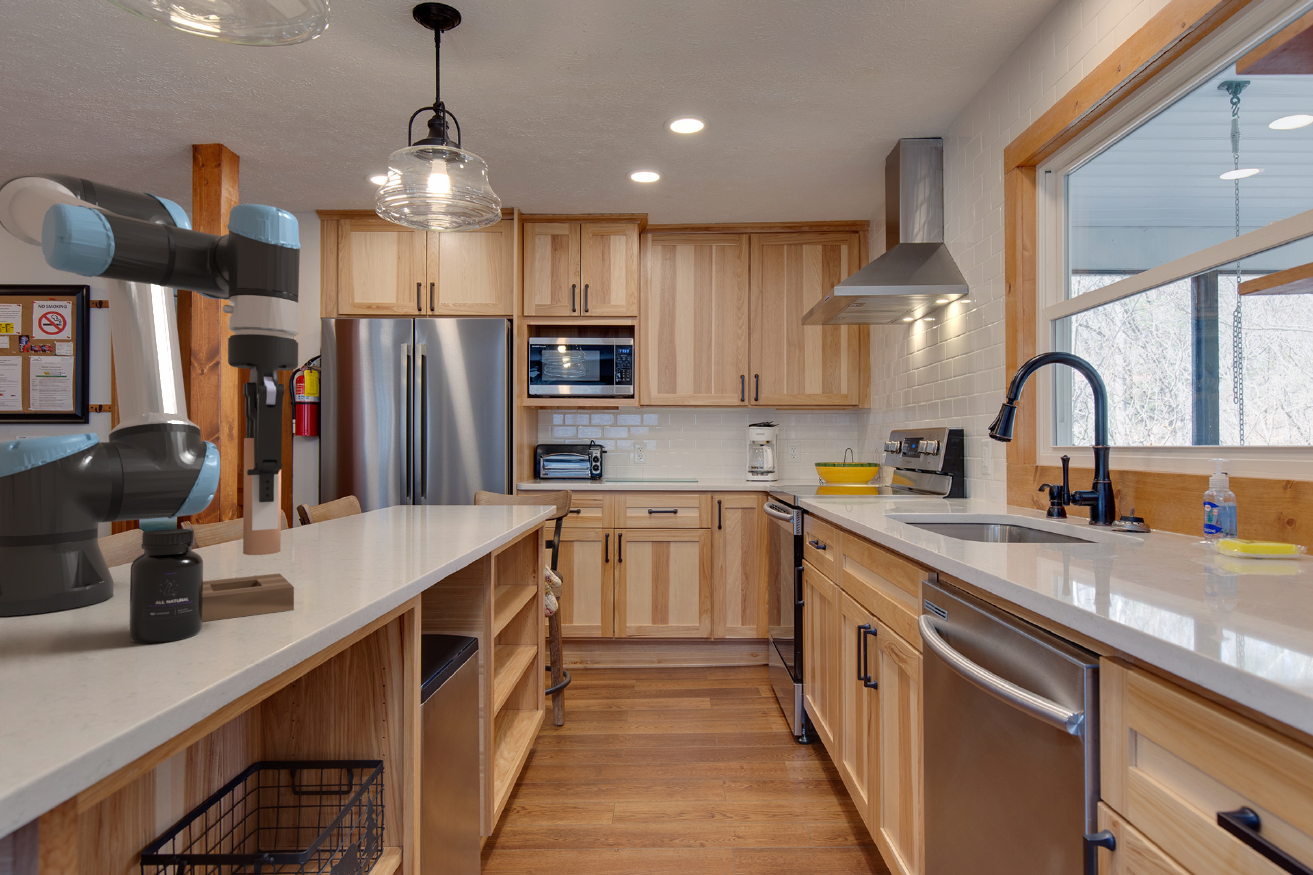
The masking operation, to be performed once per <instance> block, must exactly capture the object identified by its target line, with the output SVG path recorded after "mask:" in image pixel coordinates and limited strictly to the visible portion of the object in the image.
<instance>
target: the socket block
mask: <svg viewBox="0 0 1313 875" xmlns="http://www.w3.org/2000/svg"><path fill="white" fill-rule="evenodd" d="M294 594H295V587H294V586H293V584H292V583H290V582H289V581H288V580H287V579H286V578H285V577H284V576H283V575H282V574H281V573H272V574H271V573H269V574H262V575H261V574H260V575H259V574H258V575H251V576H242V577H241V576H240V577H232V578H231V577H230V578H223V579H222V578H220V579H214V580H213V579H211V580H203V604H202V623H205V622H211V621H212V622H213V621H219V620H226V619H227V620H228V619H234V618H241V617H242V618H243V617H249V616H256V615H257V616H258V615H264V614H273V613H278V612H287V611H294V610H295V596H294Z"/></svg>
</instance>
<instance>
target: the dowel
mask: <svg viewBox="0 0 1313 875" xmlns="http://www.w3.org/2000/svg"><path fill="white" fill-rule="evenodd" d="M243 445H244V446H243V517H242V519H243V520H242V521H243V525H242V526H243V528H242V529H243V530H242V532H243V533H242V534H243V535H242V536H243V539H242V540H243V541H242V553H243V555H247V556H263V555H264V556H265V555H273V554H278V553H281V546H282V545H281V542H282V541H281V537H282V533H281V532H282V528H281V527H282V522H281V521H282V469H281V470H280V471H279V473H278V475H279V477H278V529H265V530H252V475H247V470H248V469H253V468H254V438H246V437H245V438H243Z"/></svg>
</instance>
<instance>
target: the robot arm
mask: <svg viewBox="0 0 1313 875" xmlns="http://www.w3.org/2000/svg"><path fill="white" fill-rule="evenodd" d="M0 226H1V227H2V228H3V229H4V230H5V231H7V232H8V233H9V234H10V235H12V236H13V237H15V238H16V239H18V240H20V241H22V242H24V243H26V244H28V245H31V246H35V247H41V250H42V253H43V255H44V260H45V263H46V264H48V266H50V267H51V268H52V269H54V270H57V271H61V272H67V273H71V274H75V275H78V276H82V277H89V278H92V277H95V278H101V279H103V280H104V281H106V289H107V297H108V298H107V300H108V309H109V310H108V311H109V318H110V321H109V322H110V331H111V340H112V349H113V350H112V351H113V352H112V354H113V363H114V373H115V382H116V393H117V404H118V412H119V424H117V425H116V426H115V427H114V428H113V429H112V430H110V432H109V433H108V442H103V441H102V442H100V438H99V436H98V434H97V433H96V432H81V433H71V434H59V435H49V436H48V435H47V436H37V437H29V438H27V437H26V438H18V439H9V440H3V441H0V617H1V616H2V617H5V616H21V615H31V614H32V615H33V614H40V613H41V614H42V613H50V612H56V611H63V610H69V609H75V608H80V607H86V606H89V605H93V604H94V605H95V604H97V603H100V602H103V601H106V600H109V599H111V598H112V597H114V578H113V577H112V574H111V572H110V570H109V569H110V568H109V567H108V565H107V562H106V559H105V558H104V555H103V552H102V550H101V548H100V545H99V539H98V538H99V535H98V534H99V523H109V522H111V523H112V522H125V521H135V520H136V521H137V520H139V521H140V520H148V519H149V520H150V519H163V518H168V519H174V518H177V517H185V516H192V515H197V514H200V513H202V512H203V511H205V510H206V509H207V508H208V507H209V506H210V504H211V503H212V501H213V499H214V498H215V497H214V496H215V494H216V491H217V489H218V485H219V480H220V475H221V474H220V473H221V458H220V452H219V450H218V449H217V448H218V446H216V444H215V443H213V442H212V441H208V440H202V434H201V427H200V426H199V425H197V424H195V423H194V422H193V421H191V420H190V419H189V418H188V412H187V410H188V409H187V401H186V394H185V386H184V377H183V367H182V359H181V351H180V340H179V332H178V324H177V315H176V308H175V307H176V306H175V297H174V296H175V295H174V289H176V290H183V291H189V292H195V293H197V294H198V295H201V297H204V298H207V299H212V300H228V303H229V304H224V305H223V307H222V312H223V313H225V314H230V315H229V317H228V329H229V331H231V332H232V333H234V334H231V335H230V336H229V337H228V338H227V363H228V365H229V366H231V367H233V368H238V369H249V370H250V374H249V382H245V383H243V386H242V387H243V392H242V394H243V396H244V397H245V400H244V401H245V402H244V416H245V438H254V468H253V469H248V470H247V475H252V530H265V529H278V477H279V475H278V473H279V471H280V470H281V471H282V467H283V462H282V441H283V438H282V436H283V434H282V433H283V404H284V403H283V401H284V395H285V384H284V383H279V372H278V371H293V370H296V369H297V368H298V367H299V342H298V341H297V340H296V339H294V338H295V337H296V336H298V335H300V334H299V333H300V303H299V296H300V295H299V293H300V292H299V291H300V290H299V289H300V286H299V285H300V256H301V255H300V254H301V252H300V251H301V248H302V245H301V243H300V231H299V221H298V219H297V217H296V216H295V215H293V214H292V213H291V212H289V211H287V210H284V209H283V208H279V207H276V206H271V205H266V204H260V203H259V204H258V203H257V204H256V203H241V204H237V205H234V206H233V207H232V208H231V209H230V211H229V218H228V224H227V225H226V226H227V230H228V233H227V234H223V235H217V234H212V233H208V232H203V231H197V230H193V228H192V225H191V221H190V219H189V216H188V215H187V213H186V212H185V210H184V209H183V208H182V207H181V205H179V204H178V203H176V202H175V201H172V200H171V199H167V198H164V197H160V196H157V195H155V194H153V193H150V192H139V191H135V190H130V189H126V188H123V187H118V186H114V185H111V184H110V185H109V184H107V183H106V184H105V183H103V182H102V183H101V182H98V181H94V180H89V179H85V178H80V177H77V176H74V175H69V174H65V173H64V174H63V173H57V172H56V173H55V172H27V173H23V174H17V175H14V176H12V177H9V178H7V179H6V180H4V181H3V182H2V183H0Z"/></svg>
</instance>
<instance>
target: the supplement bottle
mask: <svg viewBox="0 0 1313 875" xmlns="http://www.w3.org/2000/svg"><path fill="white" fill-rule="evenodd" d="M194 546H195V541H194V529H191V528H190V529H188V528H171V529H170V528H167V529H156V530H154V529H153V530H147V531H143V532H142V543H141V549H143V550H144V553H143V554H141V555H140V556H138V557H136V558H135V559H134V560H133V561H132V562H131V565H130V577H129V578H130V579H129V580H130V583H129V584H130V585H129V586H130V587H129V590H130V591H129V637H130V640H131V641H133V642H134V643H139V644H159V643H167V642H175V641H176V642H177V641H180V640H185V639H188V638H192V637H194V636H196V635H197V634H199V633H200V632H201V630H202V627H203V622H202V604H203V581H204V560H203V558H202V556H201V555H200V554H199V553H197V552H195V551H193V550H192V547H194Z"/></svg>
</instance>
